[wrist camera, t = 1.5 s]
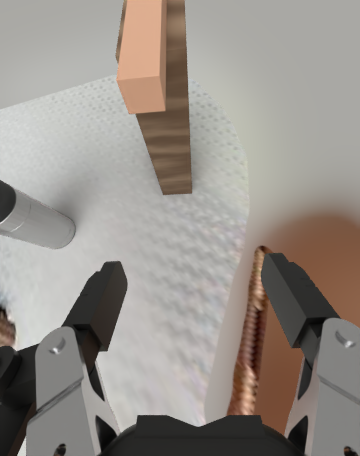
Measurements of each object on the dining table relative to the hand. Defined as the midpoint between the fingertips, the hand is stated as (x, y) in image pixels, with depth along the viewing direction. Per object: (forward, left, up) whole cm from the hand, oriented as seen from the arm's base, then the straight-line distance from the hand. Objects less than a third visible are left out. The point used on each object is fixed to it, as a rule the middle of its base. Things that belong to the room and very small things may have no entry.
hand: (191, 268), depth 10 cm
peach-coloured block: (-15, +23, -2) cm, 27 cm away
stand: (-17, +27, -34) cm, 47 cm away
